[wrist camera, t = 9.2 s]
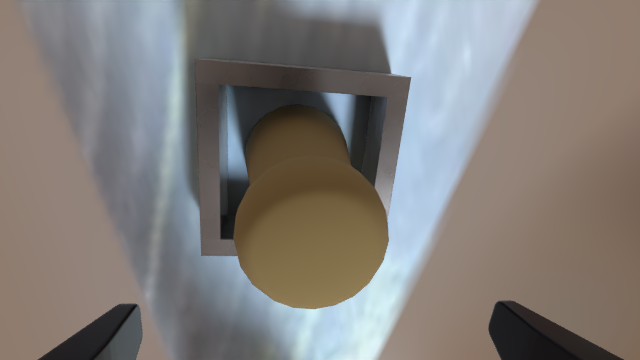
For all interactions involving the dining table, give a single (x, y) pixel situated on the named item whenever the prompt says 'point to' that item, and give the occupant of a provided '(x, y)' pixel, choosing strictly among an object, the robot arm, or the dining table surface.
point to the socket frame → (219, 73)
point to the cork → (307, 212)
